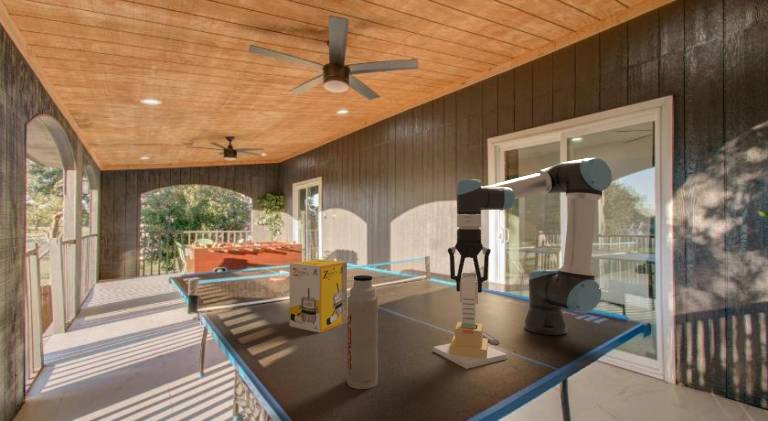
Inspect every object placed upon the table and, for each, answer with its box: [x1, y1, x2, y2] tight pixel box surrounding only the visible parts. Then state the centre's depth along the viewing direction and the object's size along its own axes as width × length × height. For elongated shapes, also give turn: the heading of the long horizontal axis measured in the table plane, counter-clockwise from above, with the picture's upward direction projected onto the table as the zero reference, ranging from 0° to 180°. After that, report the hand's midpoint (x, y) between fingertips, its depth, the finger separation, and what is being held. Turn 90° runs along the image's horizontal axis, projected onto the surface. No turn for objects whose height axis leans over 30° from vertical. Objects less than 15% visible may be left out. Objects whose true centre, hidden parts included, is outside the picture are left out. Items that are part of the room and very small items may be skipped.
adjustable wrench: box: [483, 330, 501, 345], centre depth 142 cm, size 25×6×2 cm, turn 9°
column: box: [461, 272, 477, 329], centre depth 120 cm, size 4×4×18 cm
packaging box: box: [288, 259, 348, 334], centre depth 154 cm, size 16×16×25 cm
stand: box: [433, 321, 508, 370], centre depth 120 cm, size 23×23×9 cm
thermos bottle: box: [346, 274, 379, 390], centre depth 101 cm, size 8×8×28 cm
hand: (469, 302), depth 120 cm, fingers closed on column, 4 cm apart
